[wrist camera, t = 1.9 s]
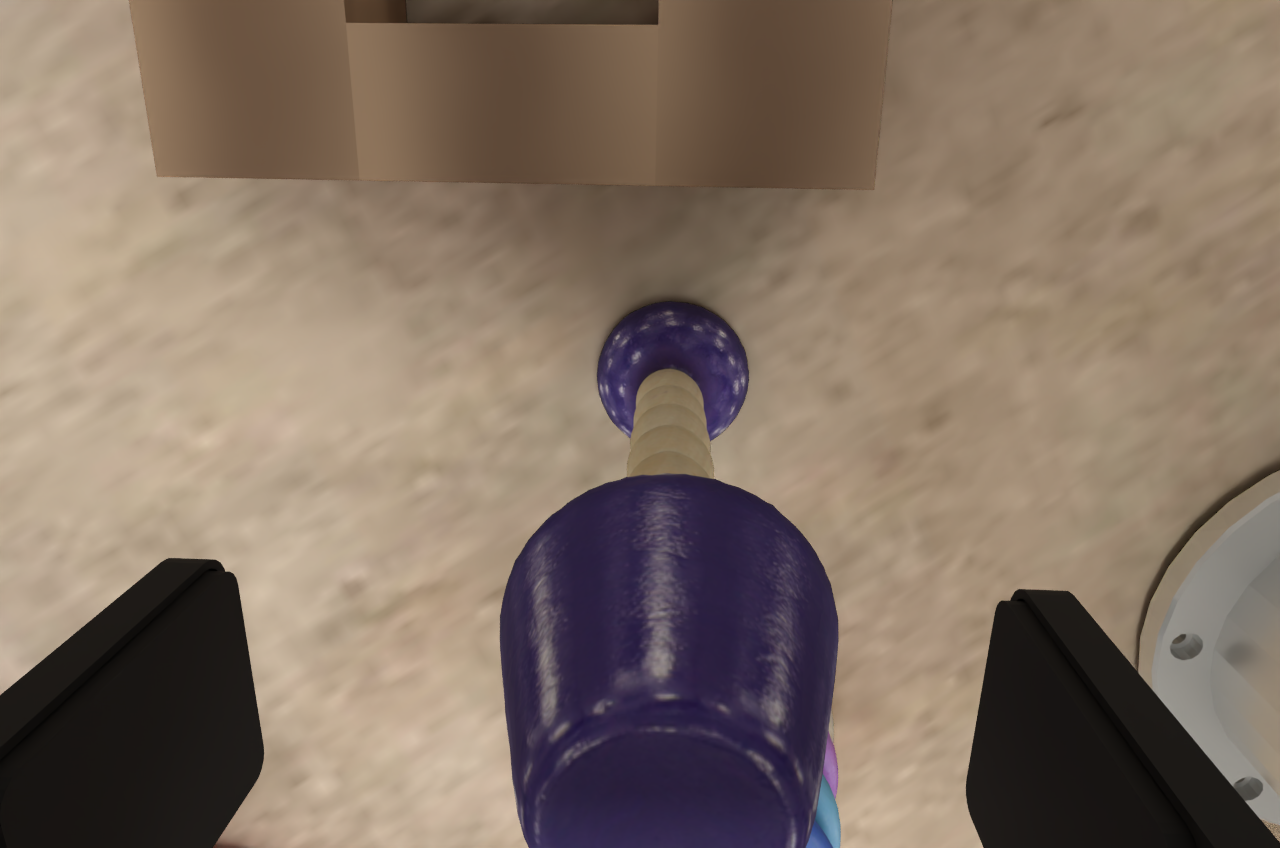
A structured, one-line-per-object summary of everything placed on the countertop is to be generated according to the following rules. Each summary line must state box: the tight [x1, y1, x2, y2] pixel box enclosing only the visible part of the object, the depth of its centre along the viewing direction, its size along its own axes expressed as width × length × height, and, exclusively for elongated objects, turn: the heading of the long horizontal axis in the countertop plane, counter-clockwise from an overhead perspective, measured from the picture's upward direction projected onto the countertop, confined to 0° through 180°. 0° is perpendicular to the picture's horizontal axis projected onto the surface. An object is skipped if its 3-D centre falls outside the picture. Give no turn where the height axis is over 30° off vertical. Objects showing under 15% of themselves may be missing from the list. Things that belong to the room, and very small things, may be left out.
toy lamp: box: [500, 301, 838, 848], centre depth 16 cm, size 5×5×17 cm
